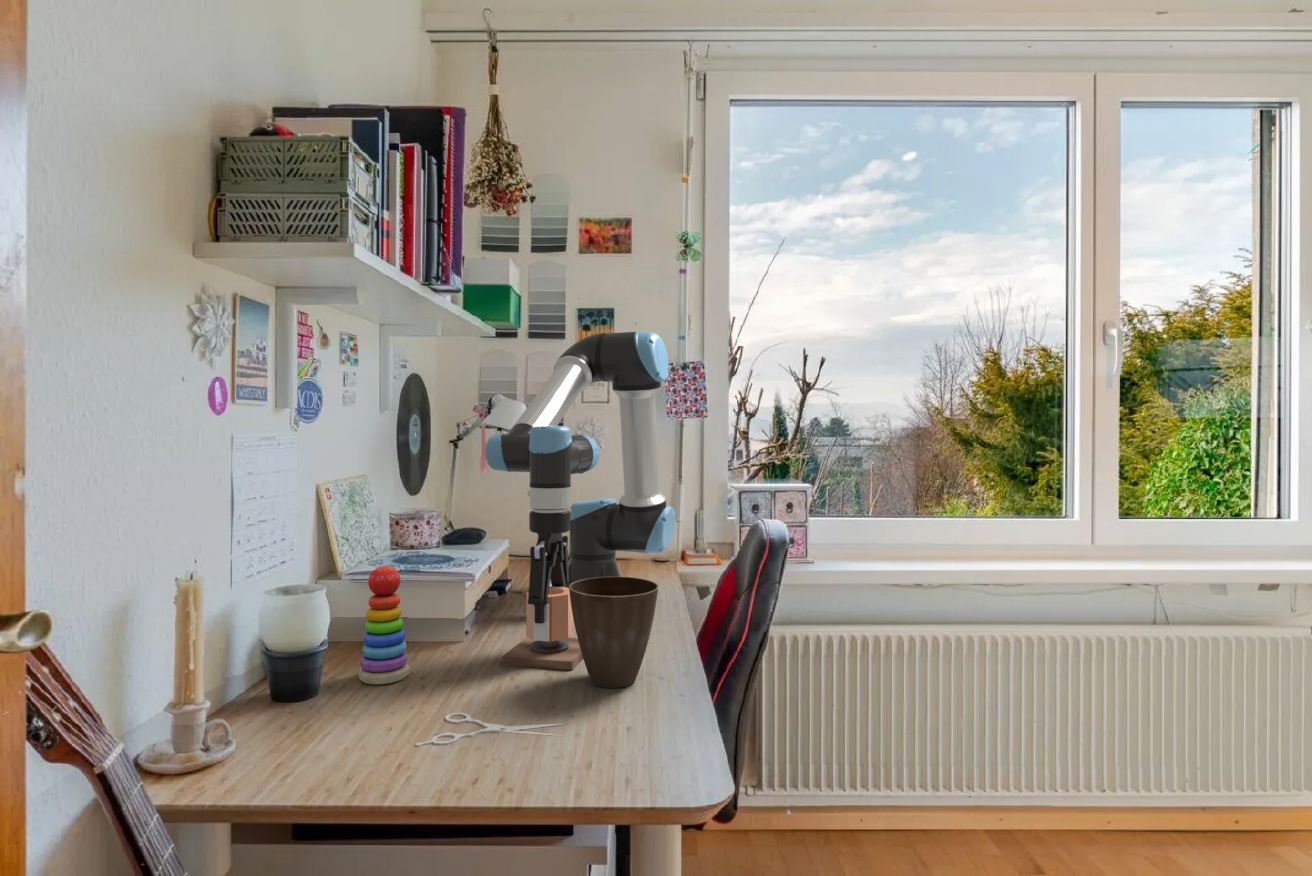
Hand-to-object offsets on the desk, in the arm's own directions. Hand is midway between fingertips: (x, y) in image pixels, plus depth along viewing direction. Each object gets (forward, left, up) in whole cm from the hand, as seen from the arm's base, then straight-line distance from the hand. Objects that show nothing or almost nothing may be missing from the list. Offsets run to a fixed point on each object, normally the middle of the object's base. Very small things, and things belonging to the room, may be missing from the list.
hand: (549, 632), depth 135 cm
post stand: (0, 0, -4) cm, 4 cm away
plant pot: (+10, +15, -4) cm, 18 cm away
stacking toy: (+17, -23, -4) cm, 29 cm away
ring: (0, 0, 0) cm, 0 cm away
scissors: (+32, +4, -5) cm, 33 cm away
